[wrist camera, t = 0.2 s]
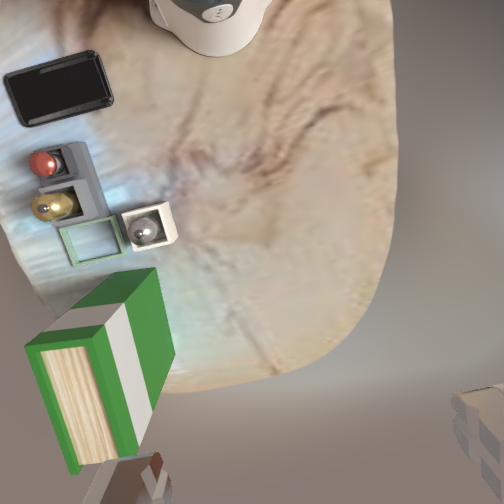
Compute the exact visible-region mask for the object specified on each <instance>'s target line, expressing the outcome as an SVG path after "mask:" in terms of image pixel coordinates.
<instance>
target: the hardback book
mask: <svg viewBox="0 0 504 504" xmlns="http://www.w3.org/2000/svg"><path fill="white" fill-rule="evenodd" d="M24 347H25V350H26V353H27V355H28V358H29V361H30V364H31V366H32V369H33V372H34V375H35V378H36V380H37V383H38V386H39V389H40V391H41V394H42V397H43V400H44V403H45V405H46V408H47V411H48V414H49V416H50V419H51V422H52V425H53V427H54V430H55V433H56V436H57V439H58V441H59V444H60V447H61V450H62V452H63V455H64V458H65V460H66V464H67V466H68V469H69V472H70V475H76V474H78V473H79V472H80V470H81V468H82V466H83V464H92V463H101V462H105V461H106V460H111V459H117V458H122V457H127V456H133V455H136V454H137V451H138V449H139V446H140V444H141V441H142V439H143V436H144V433H145V431H146V428H147V426H148V423H149V420H150V418H151V415H152V413H153V410H154V408H155V405H156V403H157V400H158V397H159V395H160V392H161V390H162V387H163V385H164V382H165V380H166V377H167V374H168V372H169V369H170V367H171V364H172V362H173V359H174V357H175V351H174V346H173V342H172V337H171V333H170V328H169V324H168V319H167V315H166V310H165V306H164V301H163V297H162V293H161V288H160V284H159V279H158V275H157V270H156V267H154V268H147V269H139V270H131V271H124V272H116V273H114V274H113V275H111V276H110V277H109V278H108V279H106V280H105V281H104V282H103V283H102V284H100V285H99V286H98V287H97V288H95V289H94V290H93V291H92V292H90V293H89V294H88V295H87V296H85V297H84V298H83V299H82V300H81V301H79V302H78V303H77V304H76V305H74V306H73V307H72V308H71V309H69V310H68V311H67V312H66V313H65V314H63V315H62V316H61V317H60V318H58V319H57V320H56V321H55V322H54V323H52V324H51V325H50V326H49V327H47V328H46V329H45V330H44V331H42V332H41V333H40V334H39V335H38V336H36V337H35V338H34V339H33V340H31V341H30V342H29V343H28V344H26V345H25V346H24Z"/></svg>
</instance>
